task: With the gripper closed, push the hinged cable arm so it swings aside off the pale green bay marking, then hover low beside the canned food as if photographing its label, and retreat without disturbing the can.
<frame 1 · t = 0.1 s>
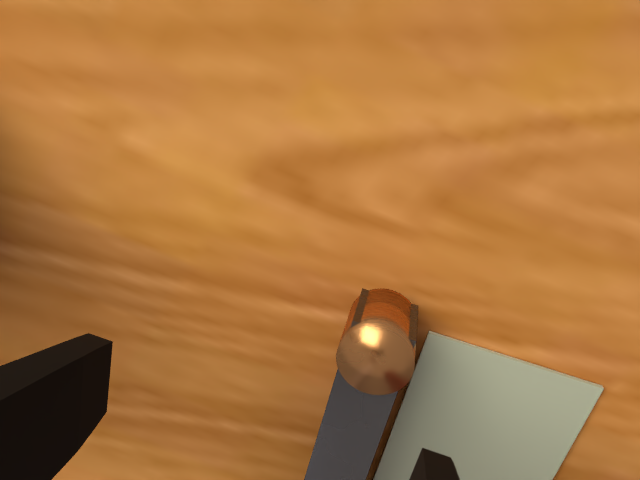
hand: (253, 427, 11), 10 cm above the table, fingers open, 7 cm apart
bay marking: (471, 449, 22), on the table
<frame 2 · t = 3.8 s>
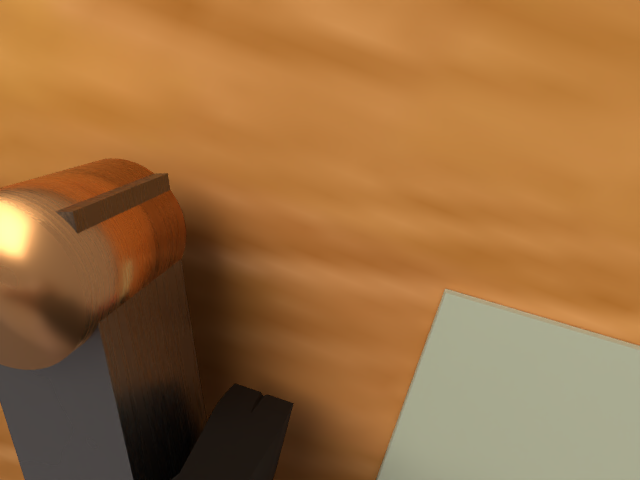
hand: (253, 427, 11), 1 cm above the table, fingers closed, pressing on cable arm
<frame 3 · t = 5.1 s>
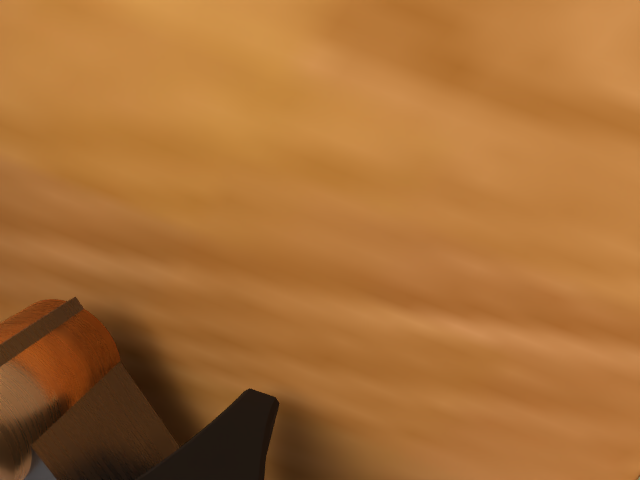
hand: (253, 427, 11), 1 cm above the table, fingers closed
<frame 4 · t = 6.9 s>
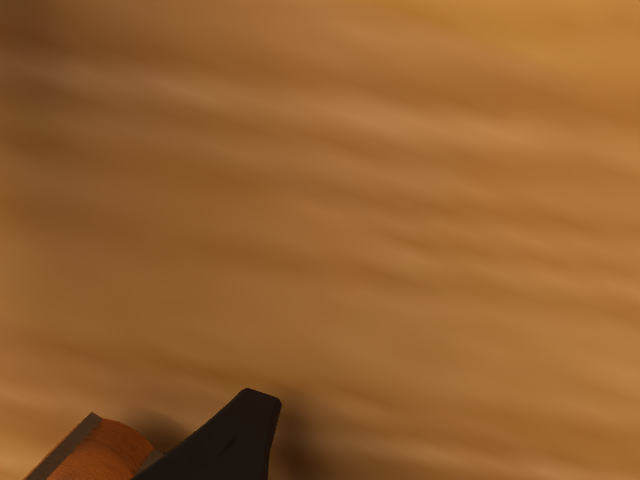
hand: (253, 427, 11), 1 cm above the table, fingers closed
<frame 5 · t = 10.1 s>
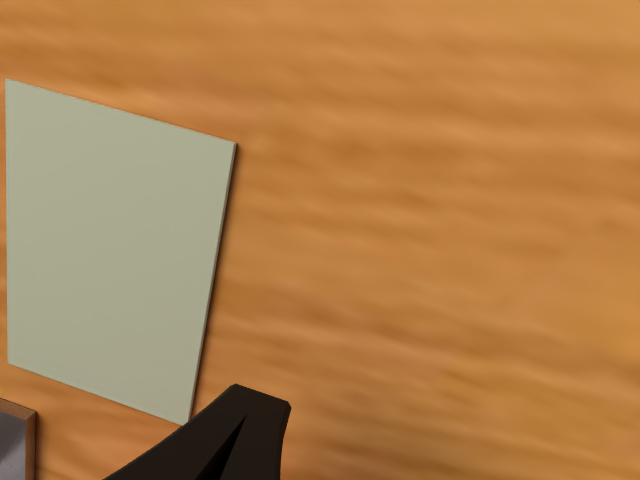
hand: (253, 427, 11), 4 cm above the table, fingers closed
bay marking: (108, 266, 16), on the table
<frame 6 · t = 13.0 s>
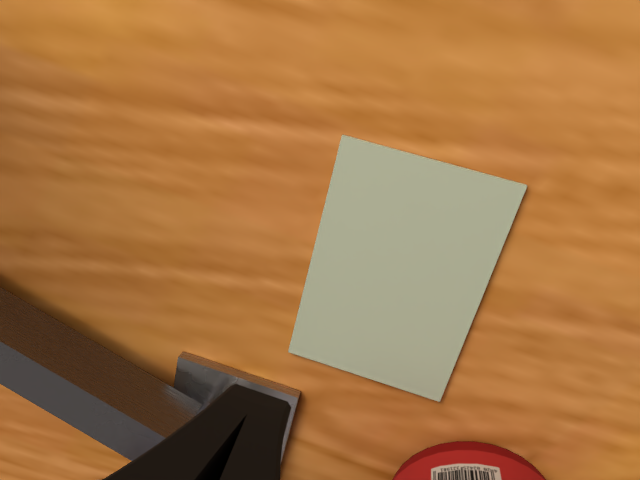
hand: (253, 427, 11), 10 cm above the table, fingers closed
cable arm: (59, 374, 22), point 3 cm above the table, hinge at 76.1°
pivot plate: (230, 419, 24), on the table
bay marking: (394, 276, 20), on the table
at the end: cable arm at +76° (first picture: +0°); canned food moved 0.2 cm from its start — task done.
